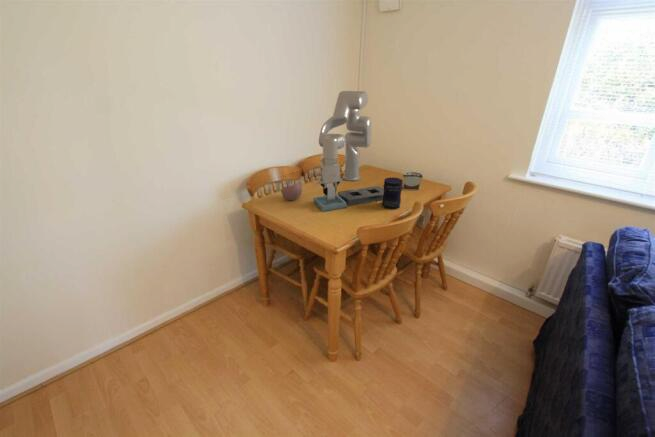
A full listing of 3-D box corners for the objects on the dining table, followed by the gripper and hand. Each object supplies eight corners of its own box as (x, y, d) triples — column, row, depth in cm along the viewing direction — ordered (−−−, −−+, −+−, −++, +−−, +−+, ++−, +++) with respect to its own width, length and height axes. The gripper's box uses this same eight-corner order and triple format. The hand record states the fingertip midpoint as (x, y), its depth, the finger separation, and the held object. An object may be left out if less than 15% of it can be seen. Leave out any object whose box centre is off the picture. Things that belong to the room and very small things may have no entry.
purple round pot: (293, 194, 184) (292, 176, 179) (306, 199, 176) (306, 180, 171) (277, 199, 176) (276, 180, 171) (290, 205, 169) (289, 185, 164)
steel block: (324, 200, 169) (324, 185, 165) (331, 199, 171) (332, 184, 167) (327, 203, 165) (327, 187, 161) (335, 202, 167) (335, 186, 163)
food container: (419, 186, 197) (421, 171, 193) (420, 190, 191) (423, 174, 187) (400, 186, 198) (401, 171, 194) (401, 189, 192) (402, 174, 188)
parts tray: (313, 202, 172) (313, 197, 171) (335, 198, 177) (336, 194, 176) (322, 211, 161) (322, 206, 159) (346, 207, 166) (346, 202, 164)
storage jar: (396, 211, 162) (399, 184, 156) (379, 207, 167) (381, 181, 160) (402, 204, 170) (405, 179, 163) (386, 201, 174) (388, 176, 168)
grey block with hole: (337, 197, 180) (337, 191, 178) (378, 191, 189) (378, 185, 188) (348, 205, 168) (348, 200, 166) (390, 198, 178) (391, 193, 176)
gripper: (317, 164, 152) (317, 198, 160) (347, 161, 158) (346, 194, 166) (312, 160, 158) (312, 193, 166) (341, 157, 164) (340, 189, 172)
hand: (329, 193), depth 166 cm, fingers closed on steel block, 4 cm apart
